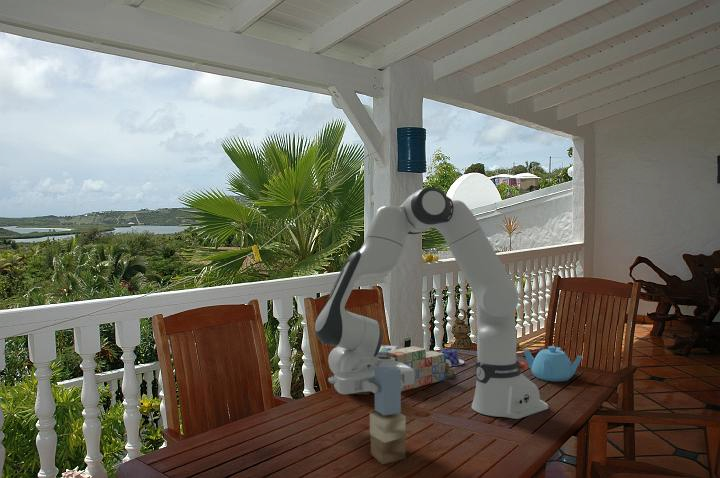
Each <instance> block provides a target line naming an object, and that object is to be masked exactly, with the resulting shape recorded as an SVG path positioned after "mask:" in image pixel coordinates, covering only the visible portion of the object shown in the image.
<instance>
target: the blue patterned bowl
mask: <svg viewBox="0 0 720 478" xmlns="http://www.w3.org/2000/svg"><path fill="white" fill-rule="evenodd" d="M440 353H443V354H445V363H446V359H448V360H450V362H451V367H452V366H453V367H454V366H460V365H463V364H464V363H465V361H464V360H463V359H460V358H459V355H458V352H457V350H456V349H454V348H443V349H441V351H440Z"/></svg>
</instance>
